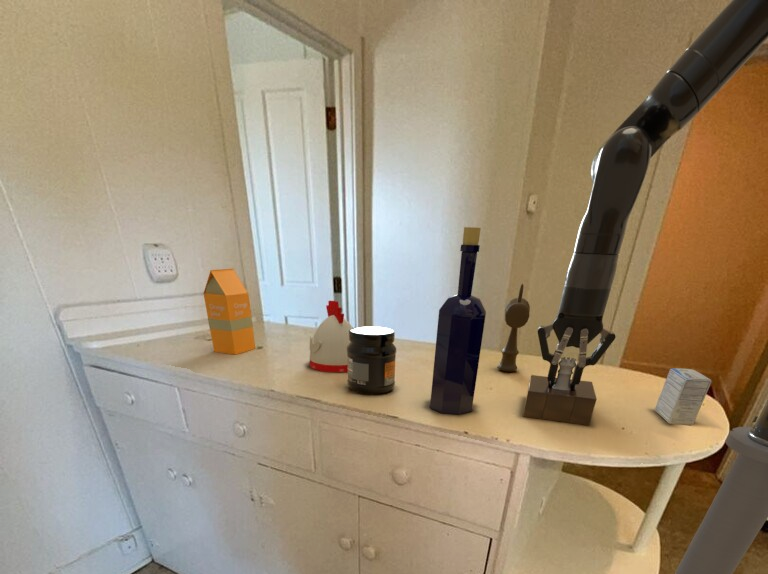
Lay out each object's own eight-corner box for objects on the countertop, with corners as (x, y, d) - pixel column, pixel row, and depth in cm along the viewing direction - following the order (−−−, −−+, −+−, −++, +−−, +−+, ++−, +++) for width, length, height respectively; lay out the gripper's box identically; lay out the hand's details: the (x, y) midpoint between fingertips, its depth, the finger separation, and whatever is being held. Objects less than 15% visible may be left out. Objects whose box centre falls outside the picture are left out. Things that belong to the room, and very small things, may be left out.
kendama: (518, 367, 114) (535, 282, 103) (518, 376, 106) (536, 286, 95) (495, 364, 115) (509, 281, 104) (494, 374, 107) (509, 284, 96)
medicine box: (693, 426, 80) (713, 380, 75) (667, 424, 81) (686, 378, 76) (676, 412, 86) (694, 369, 82) (653, 410, 87) (670, 367, 82)
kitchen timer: (348, 356, 118) (347, 296, 110) (373, 368, 108) (374, 303, 100) (301, 361, 112) (296, 298, 104) (323, 374, 102) (319, 306, 94)
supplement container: (402, 386, 96) (405, 329, 90) (380, 398, 88) (382, 337, 82) (362, 378, 100) (362, 324, 94) (338, 390, 92) (336, 331, 86)
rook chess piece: (567, 405, 81) (579, 362, 77) (544, 401, 83) (554, 359, 79) (571, 399, 85) (583, 358, 80) (548, 395, 87) (558, 354, 82)
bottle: (464, 398, 90) (487, 228, 74) (481, 413, 83) (511, 228, 66) (422, 400, 88) (436, 226, 72) (436, 415, 81) (455, 226, 64)
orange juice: (256, 348, 123) (245, 269, 112) (235, 354, 116) (222, 271, 105) (234, 345, 126) (222, 267, 115) (213, 351, 119) (198, 269, 108)
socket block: (585, 405, 88) (592, 381, 86) (588, 425, 79) (596, 399, 76) (526, 398, 91) (531, 374, 89) (522, 416, 82) (528, 390, 79)
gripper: (544, 283, 72) (523, 385, 81) (636, 289, 68) (603, 395, 77) (545, 280, 78) (525, 375, 87) (629, 285, 74) (599, 384, 83)
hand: (562, 384), depth 82 cm, fingers closed on rook chess piece, 3 cm apart
